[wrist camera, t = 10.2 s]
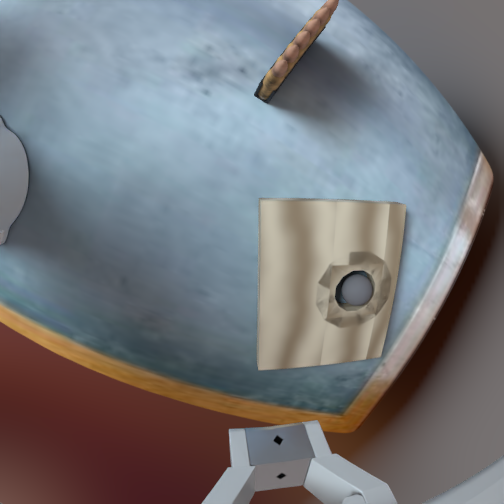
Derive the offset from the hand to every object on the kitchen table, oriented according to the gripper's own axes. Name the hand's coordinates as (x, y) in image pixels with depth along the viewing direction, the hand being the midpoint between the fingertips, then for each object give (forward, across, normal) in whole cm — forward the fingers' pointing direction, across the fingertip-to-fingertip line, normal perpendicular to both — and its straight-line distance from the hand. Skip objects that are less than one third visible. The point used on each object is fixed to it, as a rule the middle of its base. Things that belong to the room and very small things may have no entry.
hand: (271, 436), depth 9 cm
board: (+28, -12, +6) cm, 31 cm away
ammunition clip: (+28, -6, -20) cm, 36 cm away
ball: (+26, -16, +6) cm, 31 cm away
